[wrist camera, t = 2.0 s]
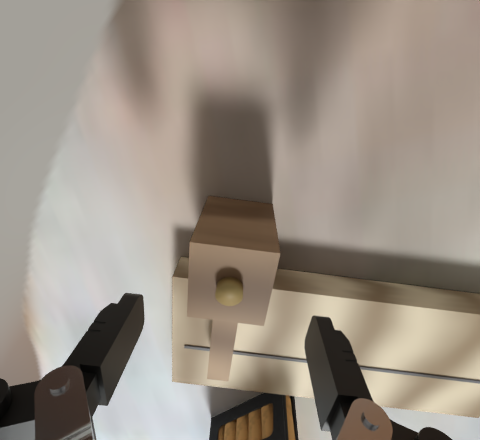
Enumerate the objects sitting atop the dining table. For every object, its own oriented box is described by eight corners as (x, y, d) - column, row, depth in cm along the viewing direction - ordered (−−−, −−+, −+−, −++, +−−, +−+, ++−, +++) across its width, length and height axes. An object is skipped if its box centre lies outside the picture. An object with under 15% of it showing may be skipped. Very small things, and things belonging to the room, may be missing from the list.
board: (179, 357, 26) (172, 382, 23) (180, 256, 20) (171, 277, 18) (459, 390, 26) (479, 419, 24) (535, 300, 21) (570, 326, 18)
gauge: (208, 195, 18) (186, 249, 12) (272, 203, 18) (281, 261, 12) (199, 324, 24) (182, 402, 18) (248, 330, 24) (246, 410, 18)
